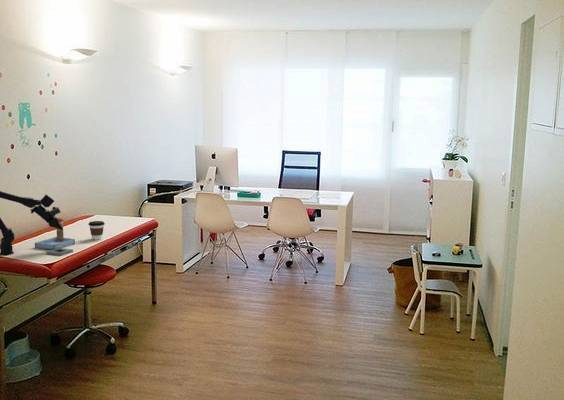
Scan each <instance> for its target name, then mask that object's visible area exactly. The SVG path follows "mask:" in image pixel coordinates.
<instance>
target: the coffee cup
mask: <svg viewBox="0 0 564 400" xmlns="http://www.w3.org/2000/svg"><path fill="white" fill-rule="evenodd" d="M87 225H88V226H89V230H90V231H89V232H90V235H91V239H92V240H93V239H94V240H93V241H95V240H96V241H98V239H99V240H102V239H103V234H104V226H105V225H106V223H105V222H104V221H102V220H94V221H89V222H88V224H87ZM101 238H102V239H101Z"/></svg>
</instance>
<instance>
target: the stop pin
mask: <svg viewBox="0 0 564 400" xmlns="http://www.w3.org/2000/svg"><path fill="white" fill-rule="evenodd" d="M57 219H58V223H59V224H60V225H61V227H62V228H63V229H62V230H61V229H58V228H56V237H57V242H62V241H64V238H65V237H64V217H57Z"/></svg>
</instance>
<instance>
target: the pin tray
mask: <svg viewBox="0 0 564 400" xmlns="http://www.w3.org/2000/svg"><path fill="white" fill-rule="evenodd" d="M75 240H76V239H75V238H70V237H64V241H62V242H57V236H55V237H51V238H48V239H47V238H46V239H44V240H40V241H36V242H34V248H35V249H40V250H41V249H42V250H47V251H51V250H54V249H57V248H68V247H70V246H74V245H75V244H76V241H75Z"/></svg>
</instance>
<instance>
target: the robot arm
mask: <svg viewBox="0 0 564 400" xmlns="http://www.w3.org/2000/svg"><path fill="white" fill-rule="evenodd" d="M0 199H3V200H7V201H12V202H15V203H19V204H21V205H22V206H24V207H27V208H29V209H30V214H31V215H33V213H35V214H36V215H37V216H39V217H40V218H41V219H42V220H43V221H45V222H46V223H47V225H48V226H49V227H50V228H55V229H57V228H58V229H61V230H62V229H63V230H64V227H63V228H62V227H61V225H60V224H59V223H58V219H57V218H58V217H57V216H56V215H58V214H61V213H62V212H61V209H60V208H59V207H58V206H57V207H56V206H52V205H53V203H55V200H54V199H53V198H52V197H51V196H49V195H48V194H45V195H43V197H42V198H41V199H35V198H33V197H30V196H29V197H26V196H18V195H15V194H12V193H8V192H4V191H3V190H2V191H1V190H0ZM51 206H52V208H51V209H50V210H48V209H47V208H49V207H51ZM0 232H1V235H2V238H0V255H3V256H8V255H9V256H10V255H12V254H15V252H14V251H13V242H14V240H15V238H16V237H15V236H16V235H15V234H16V233H15V232H14V231H13V230H12V228H11V227H9V228H8V226H7V225H6V224H5V222H4V220H3V219H2V218H1V217H0Z"/></svg>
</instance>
